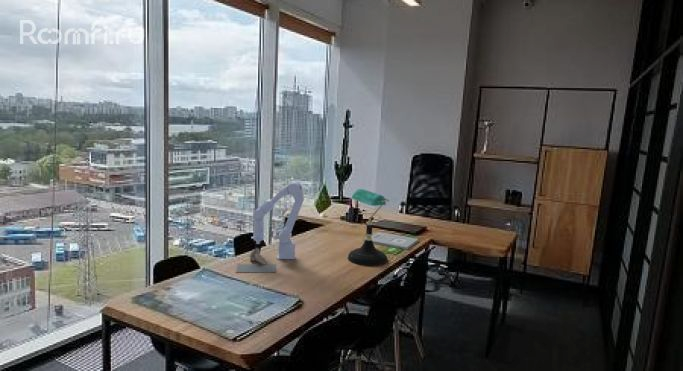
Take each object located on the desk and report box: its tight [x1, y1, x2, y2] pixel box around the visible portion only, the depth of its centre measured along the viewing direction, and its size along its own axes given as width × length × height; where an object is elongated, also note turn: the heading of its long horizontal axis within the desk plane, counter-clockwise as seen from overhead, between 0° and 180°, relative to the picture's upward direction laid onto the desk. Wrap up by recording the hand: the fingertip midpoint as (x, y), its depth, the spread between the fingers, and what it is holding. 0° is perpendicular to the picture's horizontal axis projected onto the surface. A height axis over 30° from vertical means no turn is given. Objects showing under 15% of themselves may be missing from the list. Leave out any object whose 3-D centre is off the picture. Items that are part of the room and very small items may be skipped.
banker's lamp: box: [347, 188, 390, 267], centre depth 248 cm, size 26×23×40 cm
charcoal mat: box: [235, 263, 277, 274], centre depth 227 cm, size 20×12×1 cm, turn 99°
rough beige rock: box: [249, 248, 266, 265], centre depth 237 cm, size 6×14×7 cm, turn 29°
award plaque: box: [363, 231, 419, 251], centre depth 292 cm, size 25×30×2 cm
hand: (258, 252), depth 247 cm, fingers closed
